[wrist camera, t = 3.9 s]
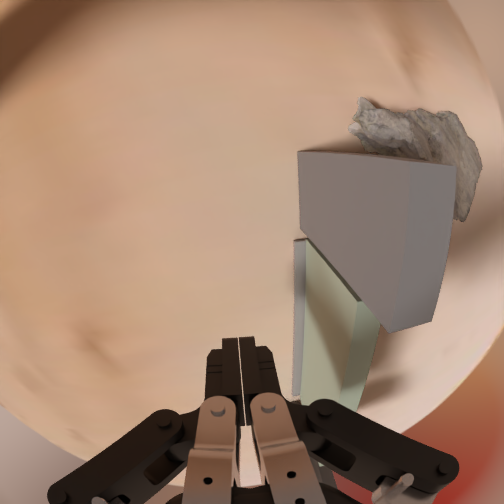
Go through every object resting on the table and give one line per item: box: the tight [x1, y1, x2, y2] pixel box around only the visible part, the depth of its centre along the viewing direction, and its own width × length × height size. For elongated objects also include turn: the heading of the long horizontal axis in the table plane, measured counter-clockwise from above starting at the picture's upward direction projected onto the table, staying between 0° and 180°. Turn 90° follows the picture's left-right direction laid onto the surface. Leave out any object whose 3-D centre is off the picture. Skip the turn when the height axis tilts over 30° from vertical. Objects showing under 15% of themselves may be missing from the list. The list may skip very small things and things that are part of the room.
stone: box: [348, 97, 482, 222], centre depth 13 cm, size 6×12×4 cm, turn 63°
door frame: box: [291, 151, 456, 489], centre depth 14 cm, size 3×24×10 cm, turn 4°
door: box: [300, 239, 381, 467], centre depth 15 cm, size 2×14×7 cm, turn 4°
